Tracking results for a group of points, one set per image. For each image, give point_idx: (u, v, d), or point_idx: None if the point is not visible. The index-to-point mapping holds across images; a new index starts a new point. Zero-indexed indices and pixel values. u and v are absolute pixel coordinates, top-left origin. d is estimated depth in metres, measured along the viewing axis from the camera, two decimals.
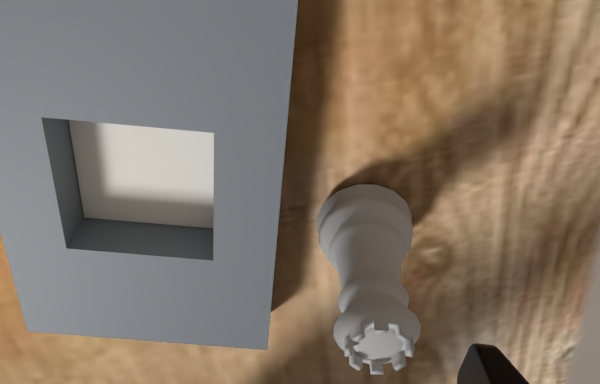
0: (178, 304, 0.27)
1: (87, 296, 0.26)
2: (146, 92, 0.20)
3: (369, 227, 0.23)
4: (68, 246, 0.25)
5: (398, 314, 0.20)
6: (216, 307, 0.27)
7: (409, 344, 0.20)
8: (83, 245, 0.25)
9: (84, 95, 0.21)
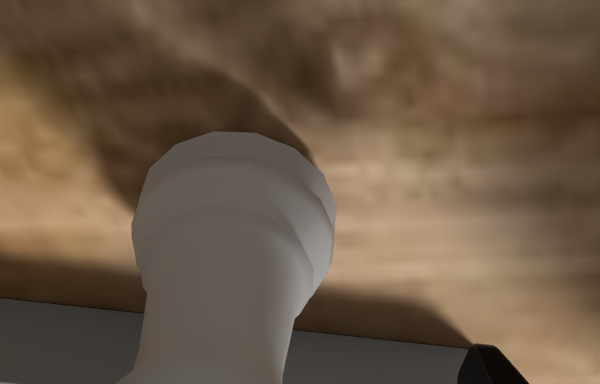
0: None
1: None
2: None
3: None
4: None
5: None
6: None
7: None
8: None
9: None
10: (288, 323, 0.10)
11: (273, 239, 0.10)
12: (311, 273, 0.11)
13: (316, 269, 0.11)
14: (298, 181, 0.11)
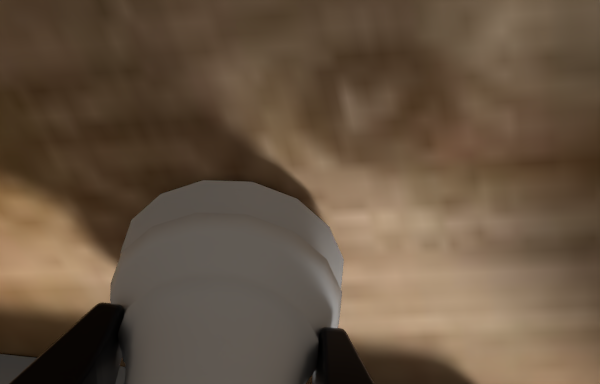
0: None
1: None
2: None
3: None
4: None
5: None
6: None
7: None
8: None
9: None
10: None
11: (271, 313, 0.09)
12: (316, 347, 0.09)
13: None
14: (301, 239, 0.10)
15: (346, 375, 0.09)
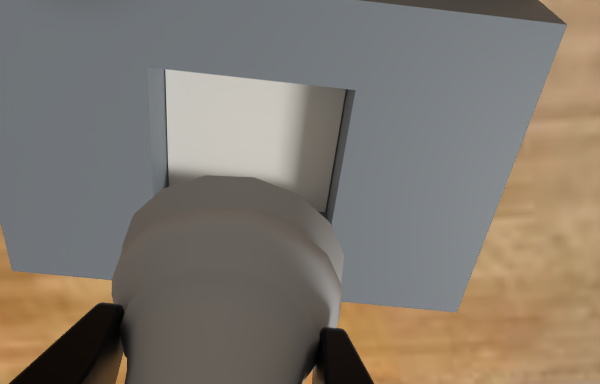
0: (435, 146, 0.19)
1: (406, 244, 0.21)
2: (107, 132, 0.19)
3: None
4: None
5: None
6: (450, 95, 0.18)
7: None
8: None
9: (123, 189, 0.20)
10: None
11: (273, 307, 0.09)
12: (316, 341, 0.09)
13: None
14: (302, 234, 0.10)
15: (346, 375, 0.09)
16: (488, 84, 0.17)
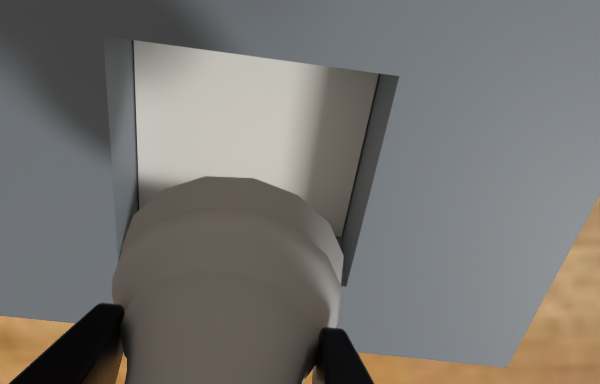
0: (502, 156, 0.14)
1: (450, 283, 0.16)
2: (49, 128, 0.13)
3: None
4: (349, 280, 0.16)
5: None
6: (531, 86, 0.13)
7: None
8: (350, 263, 0.16)
9: (73, 206, 0.15)
10: None
11: (273, 307, 0.09)
12: (316, 342, 0.09)
13: None
14: (302, 234, 0.10)
15: (346, 375, 0.09)
16: (587, 71, 0.12)
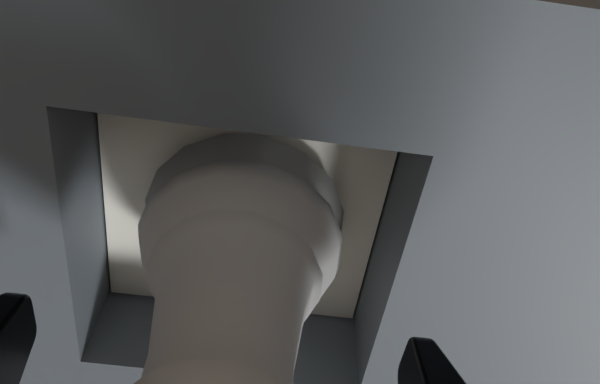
0: (561, 249, 0.11)
1: None
2: None
3: (155, 286, 0.11)
4: (362, 381, 0.13)
5: None
6: None
7: None
8: (364, 362, 0.13)
9: None
10: (298, 329, 0.10)
11: (284, 244, 0.10)
12: (320, 279, 0.11)
13: (324, 275, 0.11)
14: (309, 186, 0.11)
15: None
16: None
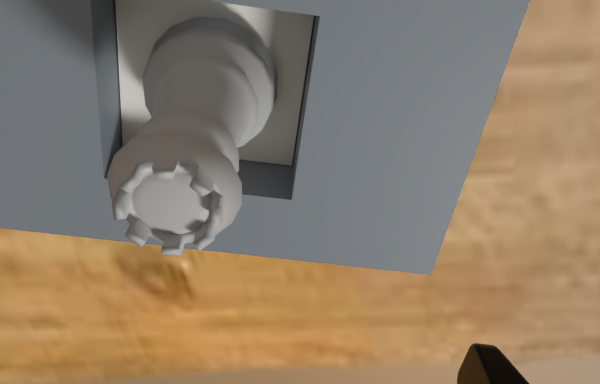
0: (407, 83, 0.17)
1: (376, 196, 0.20)
2: (47, 61, 0.17)
3: (153, 108, 0.17)
4: (294, 196, 0.20)
5: (117, 172, 0.13)
6: (423, 24, 0.16)
7: None
8: (294, 180, 0.20)
9: (67, 129, 0.18)
10: (239, 121, 0.16)
11: (232, 75, 0.17)
12: (257, 104, 0.17)
13: (261, 106, 0.18)
14: (251, 48, 0.17)
15: None
16: (464, 12, 0.16)
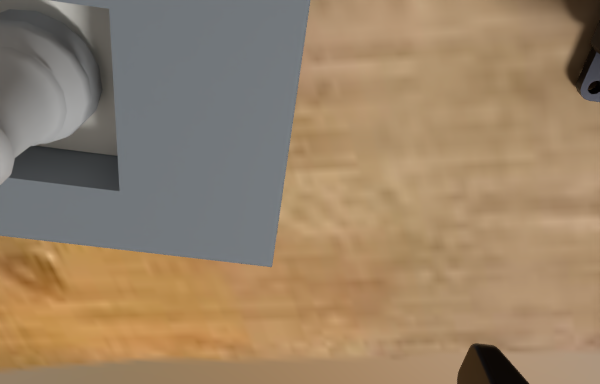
0: (208, 76, 0.17)
1: (202, 188, 0.20)
2: None
3: None
4: (124, 187, 0.20)
5: None
6: (211, 17, 0.16)
7: None
8: None
9: None
10: (30, 112, 0.16)
11: (29, 66, 0.17)
12: (61, 95, 0.17)
13: (72, 98, 0.18)
14: (59, 40, 0.18)
15: None
16: (249, 5, 0.16)
